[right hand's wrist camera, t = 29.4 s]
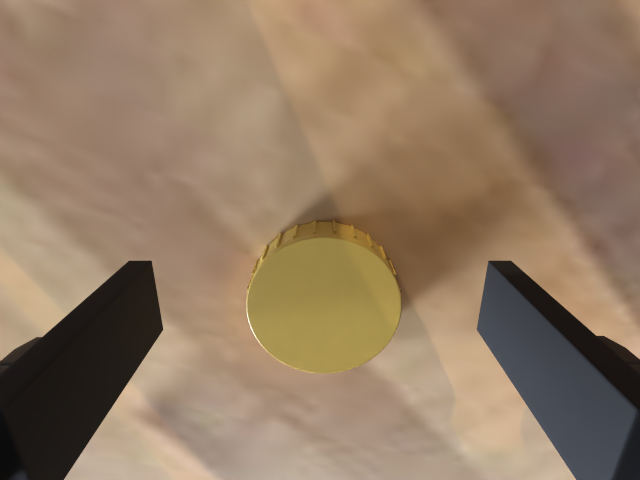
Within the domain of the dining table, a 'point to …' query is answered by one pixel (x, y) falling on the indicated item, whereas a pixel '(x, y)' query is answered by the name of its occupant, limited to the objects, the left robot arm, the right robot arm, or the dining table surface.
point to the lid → (323, 298)
